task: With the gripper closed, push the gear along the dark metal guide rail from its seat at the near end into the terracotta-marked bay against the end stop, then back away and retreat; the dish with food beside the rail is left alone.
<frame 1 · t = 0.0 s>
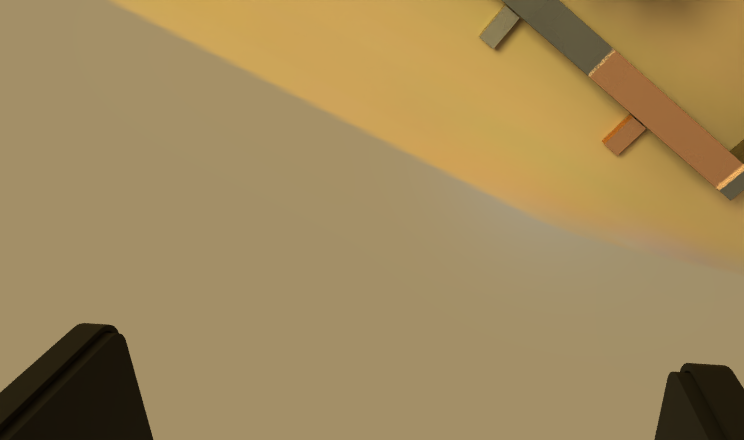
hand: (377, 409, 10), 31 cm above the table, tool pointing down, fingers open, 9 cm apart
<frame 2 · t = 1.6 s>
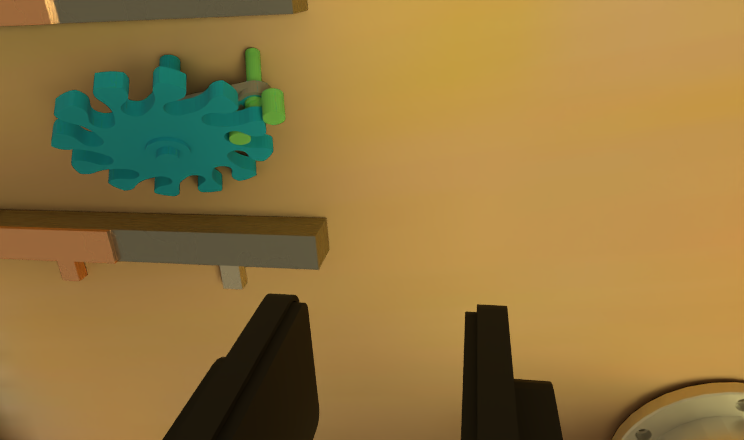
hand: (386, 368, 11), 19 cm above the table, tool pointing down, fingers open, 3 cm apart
gear: (213, 117, 30), on the table
rail: (119, 123, 31), on the table
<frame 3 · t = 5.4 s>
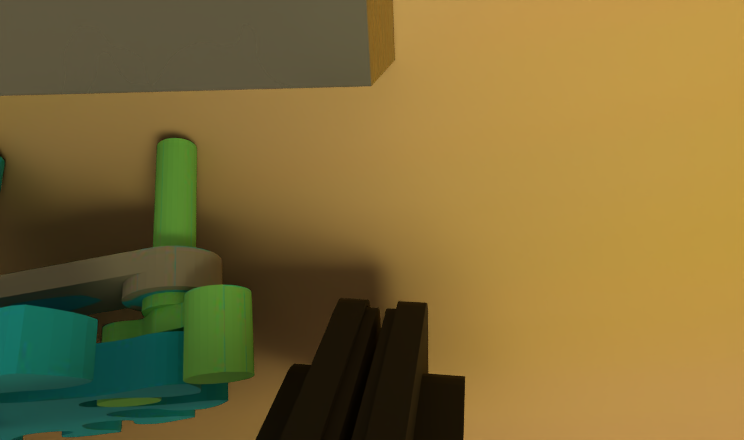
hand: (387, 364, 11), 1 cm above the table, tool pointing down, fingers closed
gear: (96, 279, 13), on the table
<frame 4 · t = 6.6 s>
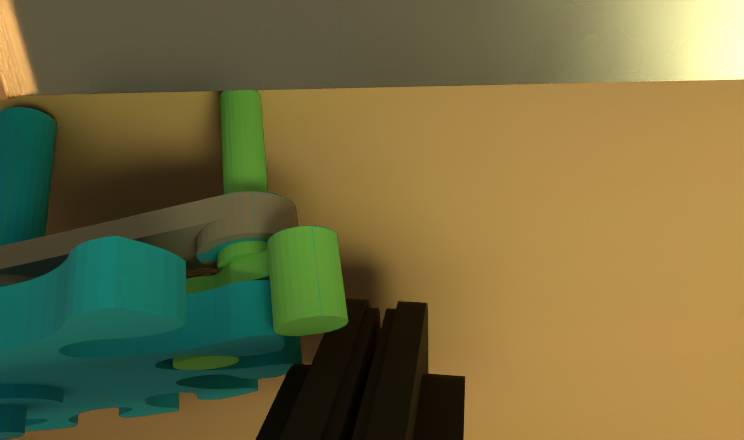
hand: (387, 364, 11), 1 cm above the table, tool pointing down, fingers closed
gear: (150, 250, 12), on the table
rail: (192, 313, 13), on the table
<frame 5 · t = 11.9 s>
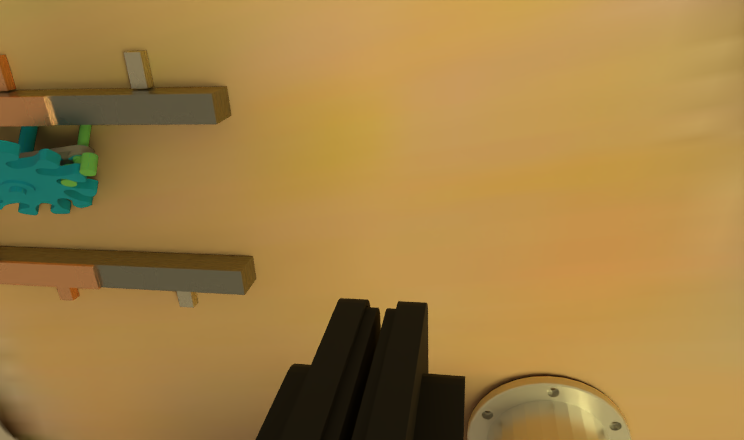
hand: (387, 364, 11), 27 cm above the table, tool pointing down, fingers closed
gear: (63, 162, 42), on the table
rail: (101, 187, 42), on the table
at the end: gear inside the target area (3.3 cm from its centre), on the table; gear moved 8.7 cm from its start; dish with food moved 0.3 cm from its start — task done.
